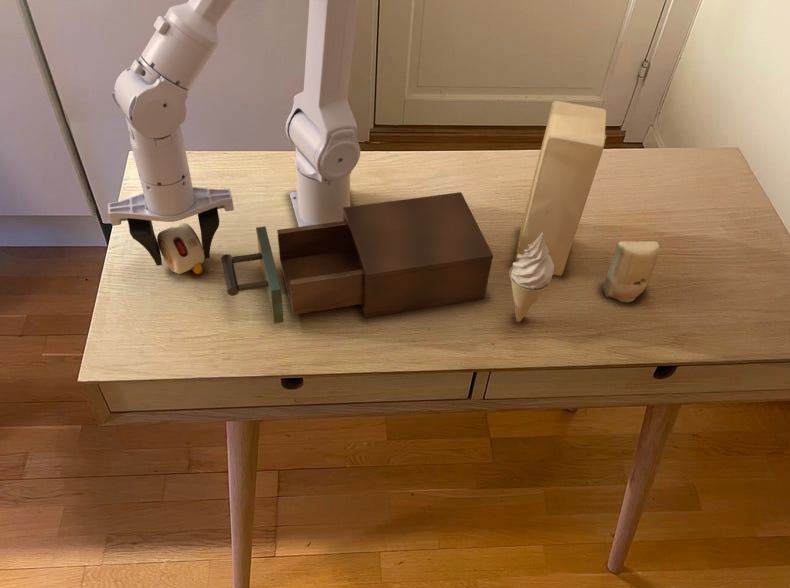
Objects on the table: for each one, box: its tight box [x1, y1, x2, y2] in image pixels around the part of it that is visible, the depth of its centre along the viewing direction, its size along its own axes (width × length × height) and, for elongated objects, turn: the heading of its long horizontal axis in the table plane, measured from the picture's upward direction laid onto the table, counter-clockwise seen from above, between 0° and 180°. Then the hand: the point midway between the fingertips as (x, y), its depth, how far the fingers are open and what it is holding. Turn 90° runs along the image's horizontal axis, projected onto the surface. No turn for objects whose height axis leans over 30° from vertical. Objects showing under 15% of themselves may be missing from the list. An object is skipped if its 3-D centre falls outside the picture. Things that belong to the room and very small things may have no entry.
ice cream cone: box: [508, 232, 554, 323], centre depth 91 cm, size 5×5×15 cm
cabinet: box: [343, 191, 494, 318], centre depth 98 cm, size 16×13×8 cm
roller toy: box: [156, 222, 206, 275], centre depth 97 cm, size 4×6×6 cm
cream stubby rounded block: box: [602, 240, 662, 303], centre depth 98 cm, size 6×5×8 cm
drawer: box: [220, 221, 365, 324], centre depth 95 cm, size 20×11×6 cm, turn 106°
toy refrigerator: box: [514, 100, 607, 277], centre depth 97 cm, size 8×7×21 cm
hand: (183, 256), depth 98 cm, fingers closed on roller toy, 5 cm apart
